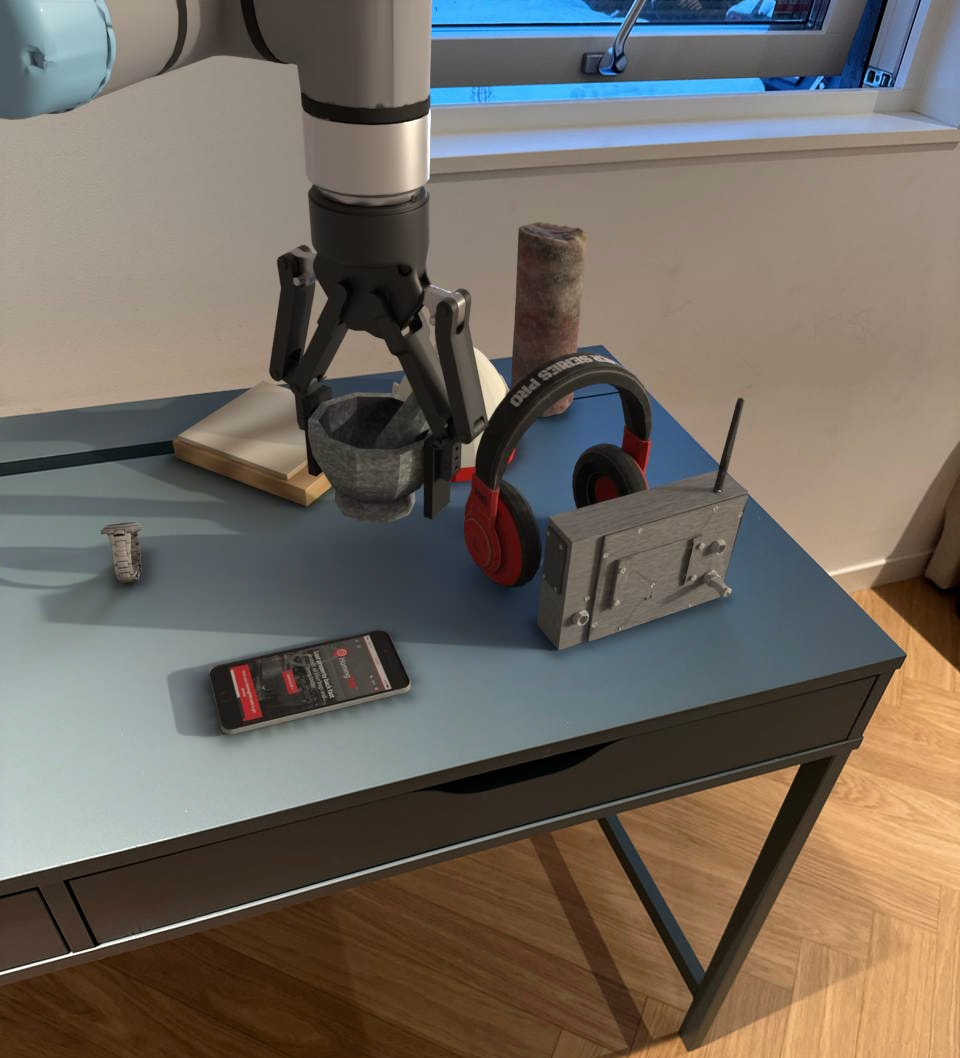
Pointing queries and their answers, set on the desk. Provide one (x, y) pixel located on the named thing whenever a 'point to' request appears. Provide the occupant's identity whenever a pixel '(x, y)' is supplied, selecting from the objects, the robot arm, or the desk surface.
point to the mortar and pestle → (371, 452)
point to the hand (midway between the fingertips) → (378, 487)
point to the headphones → (599, 475)
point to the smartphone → (307, 681)
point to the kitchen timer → (492, 395)
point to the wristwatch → (125, 550)
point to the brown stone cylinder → (547, 299)
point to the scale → (255, 444)
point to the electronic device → (640, 554)
